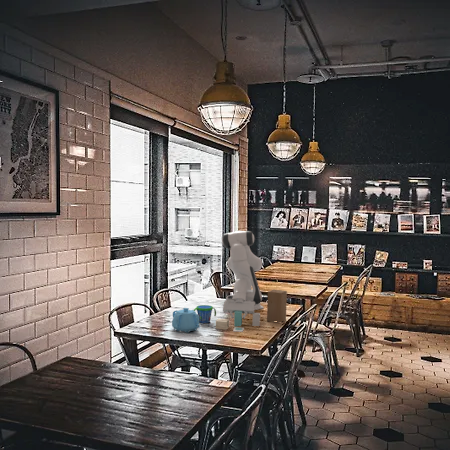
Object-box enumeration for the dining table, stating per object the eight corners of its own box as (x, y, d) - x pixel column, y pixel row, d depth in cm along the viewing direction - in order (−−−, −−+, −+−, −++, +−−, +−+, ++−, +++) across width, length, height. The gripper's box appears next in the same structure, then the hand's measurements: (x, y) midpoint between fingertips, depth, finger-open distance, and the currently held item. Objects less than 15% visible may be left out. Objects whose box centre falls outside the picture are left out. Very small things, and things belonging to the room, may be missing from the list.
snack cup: (193, 324, 322) (194, 308, 321) (191, 320, 332) (191, 305, 332) (217, 323, 326) (218, 308, 325) (214, 319, 336) (214, 304, 335)
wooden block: (266, 321, 336) (267, 291, 335) (272, 318, 344) (273, 289, 344) (280, 323, 331) (281, 293, 330) (286, 320, 340) (287, 290, 339)
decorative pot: (197, 327, 316) (198, 305, 316) (200, 333, 300) (200, 310, 300) (171, 327, 314) (172, 305, 314) (172, 333, 298) (172, 310, 298)
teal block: (234, 324, 324) (235, 310, 324) (241, 324, 324) (242, 311, 324) (234, 326, 320) (234, 312, 320) (241, 326, 320) (241, 312, 319)
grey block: (252, 324, 325) (253, 312, 325) (259, 325, 325) (260, 312, 324) (252, 326, 321) (252, 314, 320) (259, 326, 320) (259, 314, 320)
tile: (234, 327, 316) (234, 326, 316) (243, 328, 315) (243, 327, 315) (233, 331, 307) (233, 330, 307) (243, 331, 306) (243, 330, 306)
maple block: (218, 326, 319) (218, 318, 319) (228, 327, 318) (229, 319, 318) (215, 329, 313) (215, 321, 312) (226, 329, 311) (226, 321, 311)
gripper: (255, 303, 332) (254, 321, 322) (224, 301, 334) (222, 320, 324) (255, 297, 327) (254, 316, 318) (223, 296, 329) (222, 314, 320)
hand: (238, 318), depth 321 cm, fingers open, 6 cm apart
